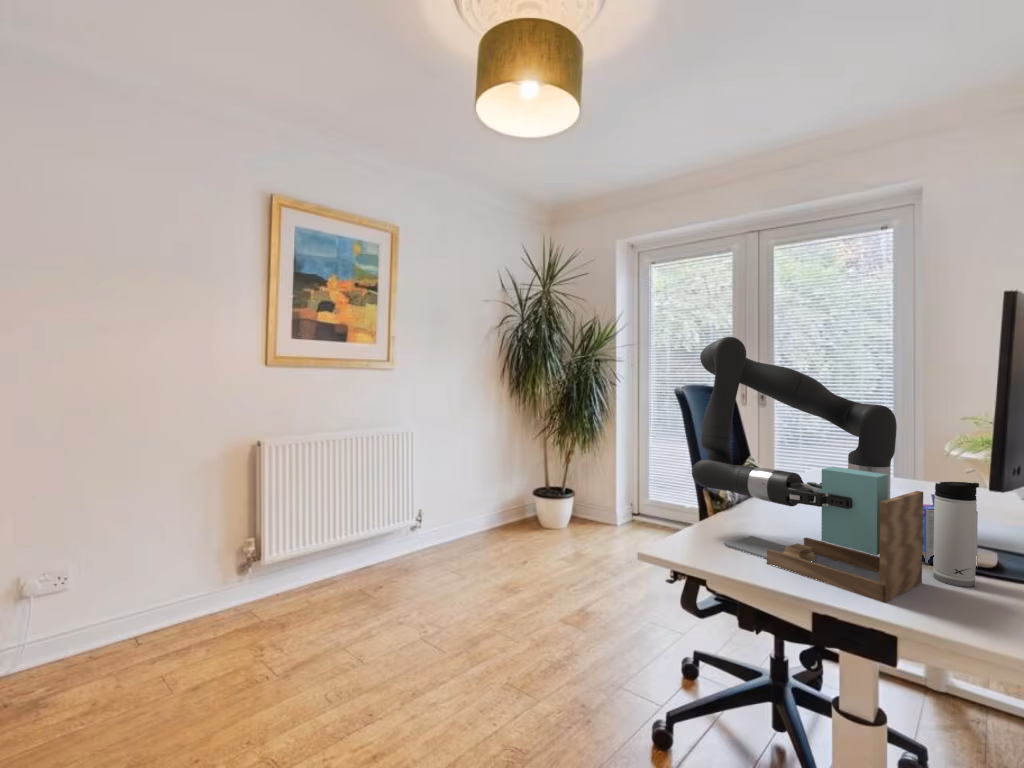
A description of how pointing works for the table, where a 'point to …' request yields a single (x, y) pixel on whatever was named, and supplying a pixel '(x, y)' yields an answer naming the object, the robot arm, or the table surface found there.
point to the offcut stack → (800, 552)
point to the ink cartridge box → (932, 530)
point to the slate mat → (755, 546)
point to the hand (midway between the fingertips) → (857, 501)
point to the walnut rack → (893, 565)
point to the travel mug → (955, 533)
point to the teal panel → (854, 508)
